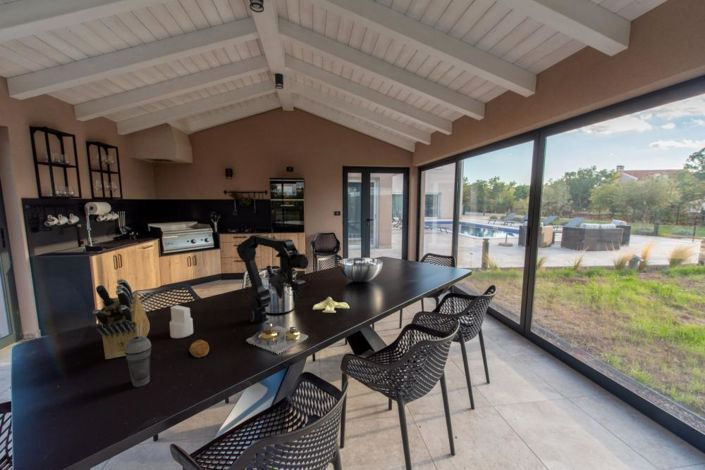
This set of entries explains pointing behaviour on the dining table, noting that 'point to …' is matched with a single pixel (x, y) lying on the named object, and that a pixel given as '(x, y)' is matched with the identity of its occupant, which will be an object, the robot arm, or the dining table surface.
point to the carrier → (279, 339)
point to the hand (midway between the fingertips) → (287, 300)
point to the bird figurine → (330, 305)
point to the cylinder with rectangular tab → (180, 322)
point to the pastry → (199, 348)
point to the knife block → (120, 319)
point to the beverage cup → (139, 359)
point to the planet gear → (268, 332)
